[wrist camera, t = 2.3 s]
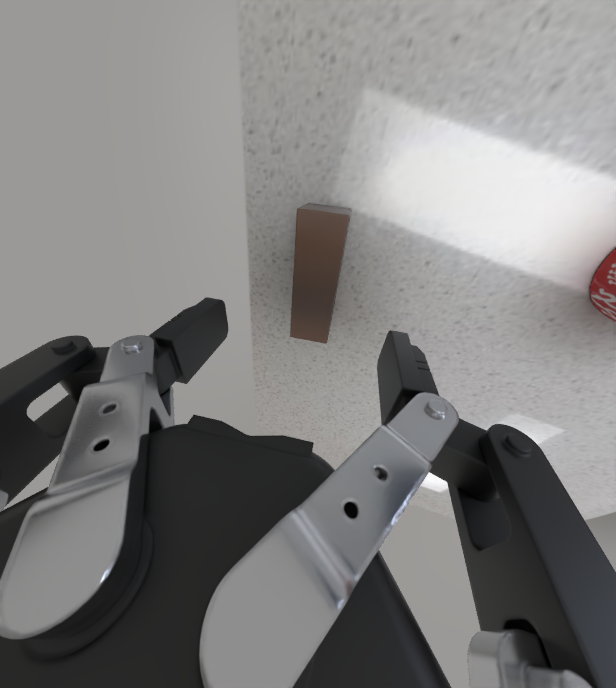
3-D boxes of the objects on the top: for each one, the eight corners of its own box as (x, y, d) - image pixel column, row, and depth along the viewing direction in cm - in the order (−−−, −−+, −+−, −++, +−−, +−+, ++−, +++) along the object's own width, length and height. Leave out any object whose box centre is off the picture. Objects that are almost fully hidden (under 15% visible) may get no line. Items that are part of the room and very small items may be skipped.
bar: (308, 202, 15) (296, 208, 13) (351, 208, 15) (349, 215, 12) (298, 316, 21) (289, 337, 18) (330, 322, 21) (326, 344, 18)
